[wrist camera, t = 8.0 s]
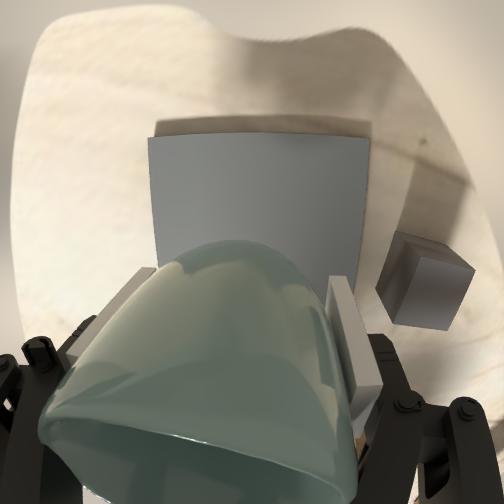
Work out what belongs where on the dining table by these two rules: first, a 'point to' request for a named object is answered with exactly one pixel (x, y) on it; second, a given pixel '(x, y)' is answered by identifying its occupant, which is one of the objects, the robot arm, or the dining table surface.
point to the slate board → (263, 197)
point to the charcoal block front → (423, 282)
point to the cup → (210, 390)
